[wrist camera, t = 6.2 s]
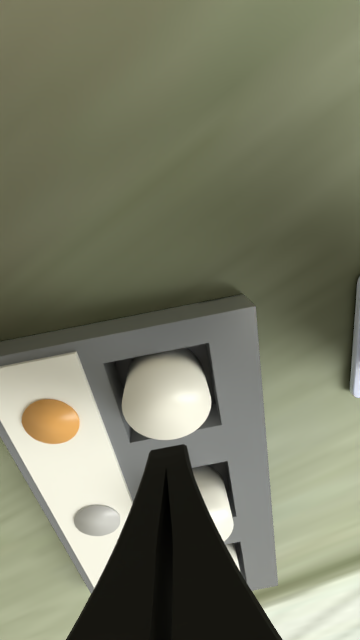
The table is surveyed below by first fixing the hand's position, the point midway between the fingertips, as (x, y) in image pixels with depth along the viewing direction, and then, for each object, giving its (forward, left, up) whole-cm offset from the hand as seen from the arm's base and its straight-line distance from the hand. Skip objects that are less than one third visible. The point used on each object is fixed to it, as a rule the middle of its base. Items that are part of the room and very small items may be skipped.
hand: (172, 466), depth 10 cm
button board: (+2, +8, -6) cm, 10 cm away
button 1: (0, 0, -6) cm, 6 cm away
